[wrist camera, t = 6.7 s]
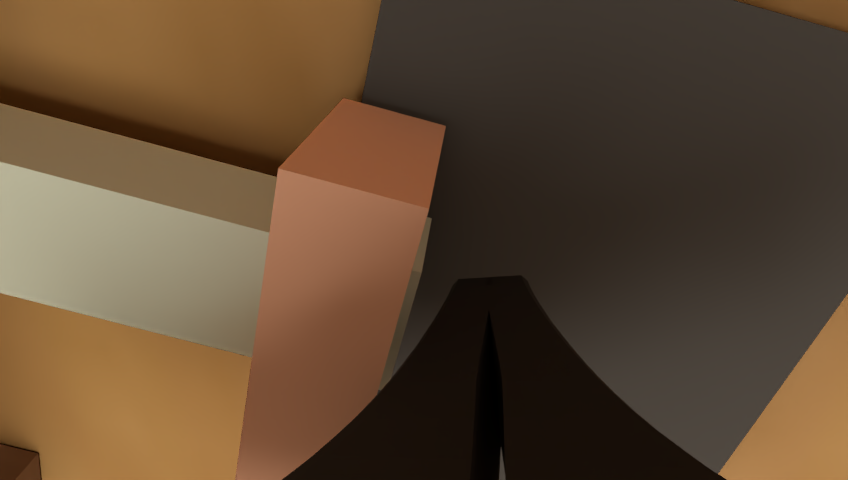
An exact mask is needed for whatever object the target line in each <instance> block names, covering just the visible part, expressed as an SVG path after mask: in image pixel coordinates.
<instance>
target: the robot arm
mask: <svg viewBox="0 0 848 480" xmlns="http://www.w3.org/2000/svg"><path fill="white" fill-rule="evenodd" d="M501 449H502V456H503V463H504V470H505V480H726V479H725V478H723V477H722V476H720V475H718V474H717V473H715V472H714V471H712V470H711V469H709V468H708V467H707V466H705V465H704V464H702V463H701V462H699V461H698V460H697V459H695V458H694V457H693V456H691V455H690V454H689V453H687V452H686V451H685V450H683V449H682V448H681V447H679V446H678V445H676V444H675V443H674V442H672V441H671V440H670V439H668V438H667V437H666V436H664V435H663V434H662V433H660V432H659V431H658V430H656V429H655V428H654V427H653V426H652V425H651V424H649V423H648V422H647V421H646V420H645V419H643V418H642V417H641V416H640V415H639V414H637V413H636V412H635V411H634V410H633V409H632V408H631V407H630V406H628V405H627V404H626V403H625V402H624V401H623V400H622V399H621V398H620V397H619V396H618V395H616V394H615V393H614V392H613V391H612V390H611V389H610V388H609V387H608V386H607V385H606V384H605V383H604V382H603V381H602V380H601V379H600V378H599V377H598V376H597V375H596V374H595V372H594V371H593V370H592V369H591V368H590V367H589V366H588V365H587V364H586V363H585V362H584V360H583V359H582V358H581V357H580V356H579V355H578V354H577V352H576V351H575V350H574V349H573V348H572V347H571V345H570V344H569V343H568V342H567V340H566V339H565V338H564V337H563V335H562V334H561V333H560V331H559V330H558V329H557V327H556V326H555V325H554V324H553V322H552V321H551V319H550V318H549V317H548V315H547V314H546V312H545V311H544V309H543V308H542V306H541V305H540V303H539V302H538V300H537V298H536V297H535V295H534V293H533V291H532V289H531V287H530V285H529V283H528V280H526V279H525V278H524V277H523V276H522V275H515V276H499V277H483V278H467V279H458V280H457V281H456V282H455V283H454V284H453V286H452V288H451V290H450V292H449V294H448V296H447V298H446V300H445V302H444V303H443V305H442V307H441V309H440V310H439V312H438V314H437V315H436V317H435V319H434V320H433V322H432V323H431V325H430V326H429V328H428V329H427V331H426V332H425V334H424V335H423V337H422V338H421V340H420V341H419V343H418V344H417V346H416V347H415V348H414V350H413V351H412V352H411V354H410V355H409V356H408V358H407V359H406V360H405V361H404V363H403V364H402V365H401V367H400V368H399V369H398V370H397V372H396V373H395V374H394V376H393V377H392V378H391V379H390V380H389V382H388V383H387V384H386V385H385V386H384V387H383V389H382V390H381V391H380V392H379V393H378V394H377V395H376V396H375V397H374V399H373V400H372V401H371V402H370V403H369V404H368V405H367V406H366V407H365V408H364V409H363V410H362V411H361V412H360V413H359V414H358V415H357V416H356V417H355V418H354V419H353V420H352V421H351V422H350V423H349V424H348V425H347V426H346V427H345V428H343V429H342V430H341V431H340V432H339V433H338V434H337V435H336V436H335V437H333V438H332V439H331V440H330V441H329V442H328V443H327V444H325V445H324V446H323V447H322V448H321V449H320V450H319V451H318V452H316V453H315V454H314V455H313V456H312V457H310V458H309V459H308V460H307V461H305V462H304V463H303V464H301V465H300V466H299V467H298V468H296V469H295V470H294V471H292V472H291V473H290V474H288V475H287V476H286V477H285V478H283V479H282V480H499V474H500V456H501Z"/></svg>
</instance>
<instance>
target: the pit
mask: <svg viewBox="0 0 848 480" xmlns="http://www.w3.org/2000/svg"><path fill="white" fill-rule="evenodd" d="M361 103H364V104H368V105H371V106H375V107H379V108H382V109H386V110H390V111H393V112H397V113H400V114H404V115H408V116H411V117H415V118H419V119H422V120H426V121H430V122H433V123H437V124H441V125H444V126H446V128H445V133H444V138H443V143H442V148H441V153H440V158H439V163H438V168H437V173H436V178H435V182H434V187H433V192H432V197H431V202H430V207H429V211H428V215H427V217H428V218H432V220H431V225H430V230H429V236H428V241H427V247H426V252H425V257H424V263H423V268H422V273H421V277H420V280H419V284H418V287H417V290H416V294H415V297H414V301H413V304H412V308H411V311H410V314H409V318H408V321H407V325H406V328H405V332H404V335H403V339H402V342H401V345H400V349H399V352H398V356H397V359H396V363H395V366H394V369H393V373H392V376H391V378H392V377H393V376H394V374H395V373H396V372H397V370H398V369H399V368H400V367H401V365H402V364H403V363H404V361H405V360H406V359H407V358H408V356H409V355H410V354H411V352H412V351H413V350H414V348H415V347H416V346H417V344H418V343H419V341H420V340H421V338H422V337H423V335H424V334H425V332H426V331H427V329H428V328H429V326H430V325H431V323H432V322H433V320H434V319H435V317H436V315H437V314H438V312H439V310H440V309H441V307H442V305H443V303H444V302H445V300H446V298H447V296H448V294H449V292H450V290H451V288H452V286H453V284H454V283H455V282H456V281H457V280H458V279H467V278H483V277H499V276H515V275H522V276H523V277H524V278H525V279H526V280H528V283H529V285H530V287H531V289H532V291H533V293H534V295H535V297H536V298H537V300H538V302H539V303H540V305H541V306H542V308H543V309H544V311H545V312H546V314H547V315H548V317H549V318H550V319H551V321H552V322H553V324H554V325H555V326H556V327H557V329H558V330H559V331H560V333H561V334H562V335H563V337H564V338H565V339H566V340H567V342H568V343H569V344H570V345H571V347H572V348H573V349H574V350H575V351H576V352H577V354H578V355H579V356H580V357H581V358H582V359H583V360H584V362H585V363H586V364H587V365H588V366H589V367H590V368H591V369H592V370H593V371H594V372H595V374H596V375H597V376H598V377H599V378H600V379H601V380H602V381H603V382H604V383H605V384H606V385H607V386H608V387H609V388H610V389H611V390H612V391H613V392H614V393H615V394H616V395H618V396H619V397H620V398H621V399H622V400H623V401H624V402H625V403H626V404H627V405H628V406H630V407H631V408H632V409H633V410H634V411H635V412H636V413H637V414H639V415H640V416H641V417H642V418H643V419H645V420H646V421H647V422H648V423H649V424H651V425H652V426H653V427H654V428H655V429H656V430H658V431H659V432H660V433H662V434H663V435H664V436H666V437H667V438H668V439H670V440H671V441H672V442H674V443H675V444H676V445H678V446H679V447H681V448H682V449H683V450H685V451H686V452H687V453H689V454H690V455H691V456H693V457H694V458H695V459H697V460H698V461H699V462H701V463H702V464H704V465H705V466H707V467H708V468H709V469H711V470H712V471H714V472H715V473H717V474H718V473H719V472H720V470H721V469H722V467H723V466H724V465H725V463H726V462H727V461H728V459H729V458H730V456H731V455H732V454H733V452H734V451H735V449H736V448H737V447H738V445H739V444H740V442H741V441H742V440H743V438H744V437H745V436H746V434H747V433H748V431H749V430H750V429H751V427H752V426H753V424H754V423H755V422H756V420H757V419H758V417H759V416H760V415H761V413H762V412H763V410H764V409H765V408H766V406H767V405H768V404H769V402H770V401H771V399H772V398H773V397H774V395H775V394H776V392H777V391H778V390H779V388H780V387H781V385H782V384H783V383H784V381H785V380H786V378H787V377H788V376H789V374H790V373H791V372H792V370H793V369H794V367H795V366H796V365H797V363H798V362H799V360H800V359H801V358H802V356H803V355H804V353H805V352H806V351H807V349H808V348H809V346H810V345H811V344H812V342H813V341H814V340H815V338H816V337H817V335H818V334H819V333H820V331H821V330H822V328H823V327H824V326H825V324H826V323H827V321H828V320H829V319H830V317H831V316H832V314H833V313H834V312H835V310H836V309H837V308H838V306H839V305H840V303H841V302H842V301H843V299H844V298H845V296H846V295H847V294H848V33H847V32H843V31H840V30H836V29H833V28H829V27H826V26H822V25H819V24H815V23H812V22H808V21H805V20H801V19H798V18H794V17H791V16H787V15H784V14H780V13H777V12H773V11H770V10H766V9H763V8H759V7H756V6H752V5H749V4H745V3H742V2H738V1H735V0H382V1H381V6H380V11H379V16H378V21H377V26H376V31H375V36H374V41H373V46H372V51H371V56H370V61H369V66H368V71H367V76H366V81H365V86H364V91H363V96H362V101H361ZM380 391H381V390H378V393H379V392H380ZM378 393H377V394H378ZM499 480H505V470H504V463H503V456H502V449H501V456H500V474H499Z"/></svg>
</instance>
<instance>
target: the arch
mask: <svg viewBox="0 0 848 480" xmlns="http://www.w3.org/2000/svg"><path fill="white" fill-rule="evenodd" d="M0 480H41V477H40V467H39V456H38V453H34V452H30V451H26V450H22V449H18V448H14V447H10V446H6V445H2V444H0Z"/></svg>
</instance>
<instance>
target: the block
mask: <svg viewBox="0 0 848 480" xmlns="http://www.w3.org/2000/svg"><path fill="white" fill-rule="evenodd" d="M445 128H446V126H444V125H441V124H437V123H433V122H430V121H426V120H422V119H419V118H415V117H411V116H408V115H404V114H400V113H397V112H393V111H390V110H386V109H382V108H379V107H375V106H371V105H368V104H364V103H360V102H357V101H353V100H349V99H346V98H343V99H342V100H341V101H340V102H339V103H338V104H337V105H336V107H335V108H334V109H333V110H332V111H331V112H330V113H329V114H328V115H327V116H326V117H325V118H324V120H323V121H322V122H321V123H320V124H319V125H318V126H317V127H316V128H315V129H314V130H313V131H312V132H311V134H310V135H309V136H308V137H307V138H306V139H305V140H304V141H303V142H302V143H301V144H300V145H299V146H298V148H297V149H296V150H295V151H294V152H293V153H292V154H291V155H290V156H289V157H288V158H287V159H286V160H285V162H284V163H283V164H282V165H281V166H280V167H279V168H278V173H277V177H275V176H271V175H267V174H264V173H260V172H256V171H253V170H249V169H245V168H241V167H238V166H234V165H230V164H226V163H223V162H219V161H215V160H211V159H208V158H204V157H200V156H196V155H193V154H189V153H185V152H181V151H178V150H174V149H170V148H166V147H163V146H159V145H155V144H152V143H148V142H144V141H140V140H137V139H133V138H129V137H125V136H122V135H118V134H114V133H110V132H107V131H103V130H99V129H95V128H92V127H88V126H84V125H80V124H77V123H73V122H69V121H66V120H62V119H58V118H54V117H51V116H47V115H43V114H39V113H36V112H32V111H28V110H24V109H21V108H17V107H13V106H9V105H6V104H2V103H0V293H3V294H6V295H10V296H14V297H18V298H22V299H26V300H30V301H34V302H38V303H42V304H45V305H49V306H53V307H57V308H61V309H65V310H69V311H73V312H77V313H81V314H84V315H88V316H92V317H96V318H100V319H104V320H108V321H112V322H116V323H120V324H123V325H127V326H131V327H135V328H139V329H143V330H147V331H151V332H155V333H159V334H162V335H166V336H170V337H174V338H178V339H182V340H186V341H190V342H194V343H198V344H201V345H205V346H209V347H213V348H217V349H221V350H225V351H229V352H233V353H237V354H240V355H244V356H248V357H252V362H251V369H250V376H249V384H248V391H247V398H246V405H245V413H244V420H243V427H242V434H241V442H240V449H239V456H238V463H237V471H236V478H235V480H282V479H283V478H285V477H286V476H287V475H288V474H290V473H291V472H292V471H294V470H295V469H296V468H298V467H299V466H300V465H301V464H303V463H304V462H305V461H307V460H308V459H309V458H310V457H312V456H313V455H314V454H315V453H316V452H318V451H319V450H320V449H321V448H322V447H323V446H324V445H325V444H327V443H328V442H329V441H330V440H331V439H332V438H333V437H335V436H336V435H337V434H338V433H339V432H340V431H341V430H342V429H343V428H345V427H346V426H347V425H348V424H349V423H350V422H351V421H352V420H353V419H354V418H355V417H356V416H357V415H358V414H359V413H360V412H361V411H362V410H363V409H364V408H365V407H366V406H367V405H368V404H369V403H370V402H371V401H372V400H373V399H374V397H375V396H376V395H377V393H378V390H382V389H383V387H384V386H385V385H386V384H387V383H388V382H389V380H390V379H391V376H392V373H393V369H394V366H395V363H396V359H397V356H398V352H399V349H400V345H401V342H402V339H403V335H404V332H405V328H406V325H407V321H408V318H409V314H410V311H411V308H412V304H413V301H414V297H415V294H416V290H417V287H418V284H419V280H420V277H421V273H422V268H423V263H424V257H425V252H426V247H427V241H428V236H429V230H430V225H431V220H432V218H428V217H427V215H428V211H429V207H430V202H431V197H432V192H433V187H434V182H435V178H436V173H437V168H438V163H439V158H440V153H441V148H442V143H443V138H444V133H445Z"/></svg>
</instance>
